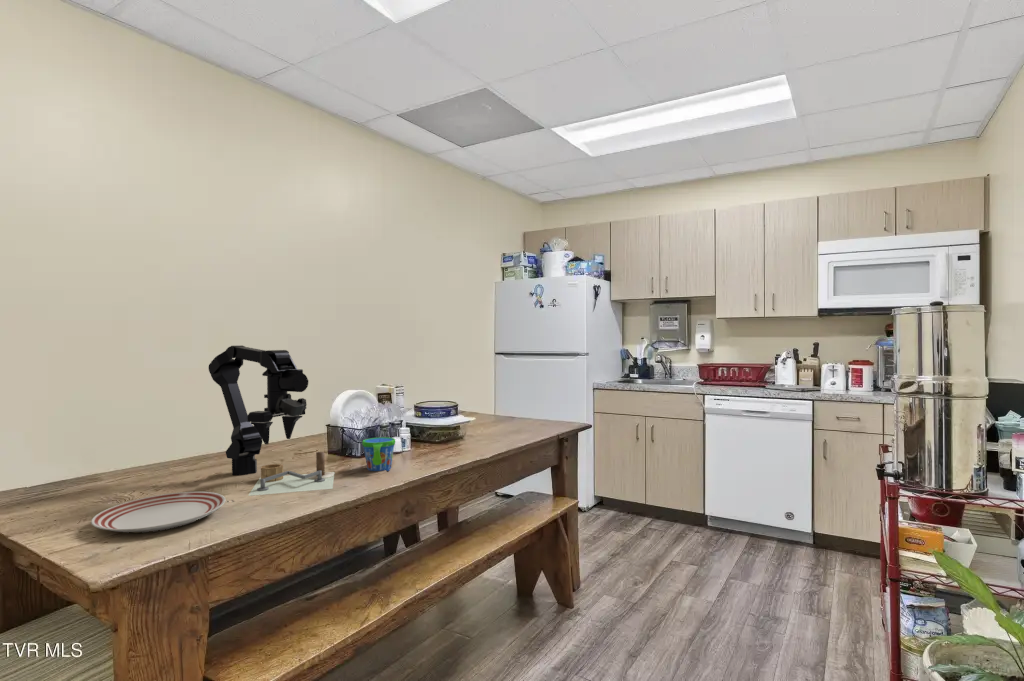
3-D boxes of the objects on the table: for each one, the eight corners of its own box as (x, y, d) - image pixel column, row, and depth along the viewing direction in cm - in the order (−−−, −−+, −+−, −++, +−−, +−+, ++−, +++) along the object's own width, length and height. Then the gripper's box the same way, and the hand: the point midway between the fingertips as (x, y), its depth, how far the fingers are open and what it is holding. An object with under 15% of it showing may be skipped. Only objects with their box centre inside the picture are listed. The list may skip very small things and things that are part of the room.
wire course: (247, 498, 151) (247, 484, 151) (259, 480, 172) (259, 468, 172) (332, 491, 158) (332, 478, 158) (334, 474, 178) (334, 462, 178)
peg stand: (306, 480, 167) (305, 455, 167) (307, 474, 175) (307, 450, 175) (333, 478, 170) (333, 454, 170) (334, 472, 177) (334, 449, 177)
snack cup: (368, 465, 190) (368, 435, 190) (399, 464, 190) (399, 435, 190) (357, 476, 174) (356, 444, 174) (391, 476, 175) (390, 443, 174)
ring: (260, 482, 166) (259, 469, 166) (263, 477, 171) (262, 464, 171) (281, 480, 167) (281, 467, 167) (284, 476, 173) (283, 463, 173)
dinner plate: (168, 543, 119) (168, 528, 119) (59, 538, 123) (59, 523, 123) (249, 505, 146) (249, 492, 146) (157, 502, 150) (157, 489, 150)
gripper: (276, 394, 159) (276, 448, 159) (319, 388, 177) (319, 437, 177) (245, 393, 163) (246, 446, 163) (290, 387, 181) (291, 435, 181)
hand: (277, 441), depth 171 cm, fingers open, 9 cm apart
